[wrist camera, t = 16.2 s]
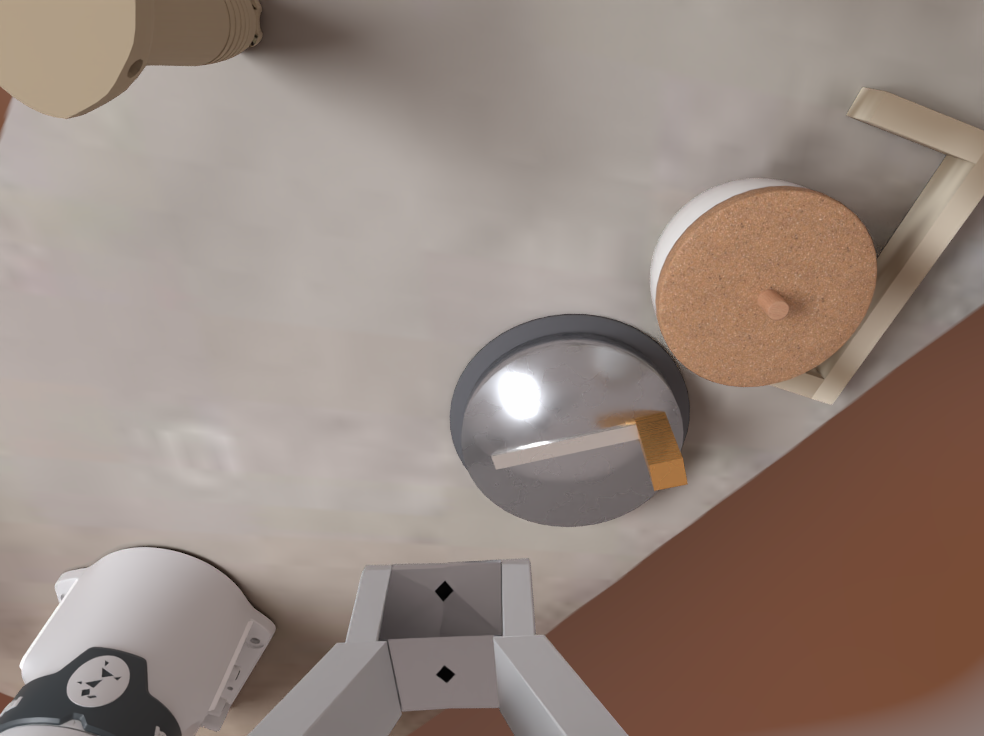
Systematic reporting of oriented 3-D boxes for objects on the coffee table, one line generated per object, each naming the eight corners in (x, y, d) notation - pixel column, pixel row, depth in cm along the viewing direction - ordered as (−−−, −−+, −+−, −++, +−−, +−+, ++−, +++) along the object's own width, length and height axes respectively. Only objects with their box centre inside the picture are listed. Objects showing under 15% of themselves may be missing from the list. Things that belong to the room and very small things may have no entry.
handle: (308, -1, 32) (166, -17, 19) (245, 99, 35) (82, 147, 21) (226, -76, 31) (11, -149, 18) (167, 35, 33) (-60, 43, 20)
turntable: (496, 524, 49) (494, 596, 42) (434, 363, 42) (420, 421, 36) (690, 486, 46) (717, 556, 40) (657, 307, 39) (684, 360, 33)
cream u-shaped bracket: (815, 385, 42) (831, 405, 40) (710, 350, 41) (720, 369, 39) (987, 137, 34) (1020, 145, 32) (862, 87, 33) (886, 91, 31)
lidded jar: (769, 340, 41) (833, 420, 33) (612, 311, 40) (637, 385, 32) (844, 177, 36) (942, 224, 27) (665, 141, 35) (711, 177, 27)
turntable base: (627, 534, 50) (627, 537, 49) (423, 477, 47) (422, 480, 47) (733, 358, 42) (734, 360, 41) (493, 280, 39) (493, 282, 39)
